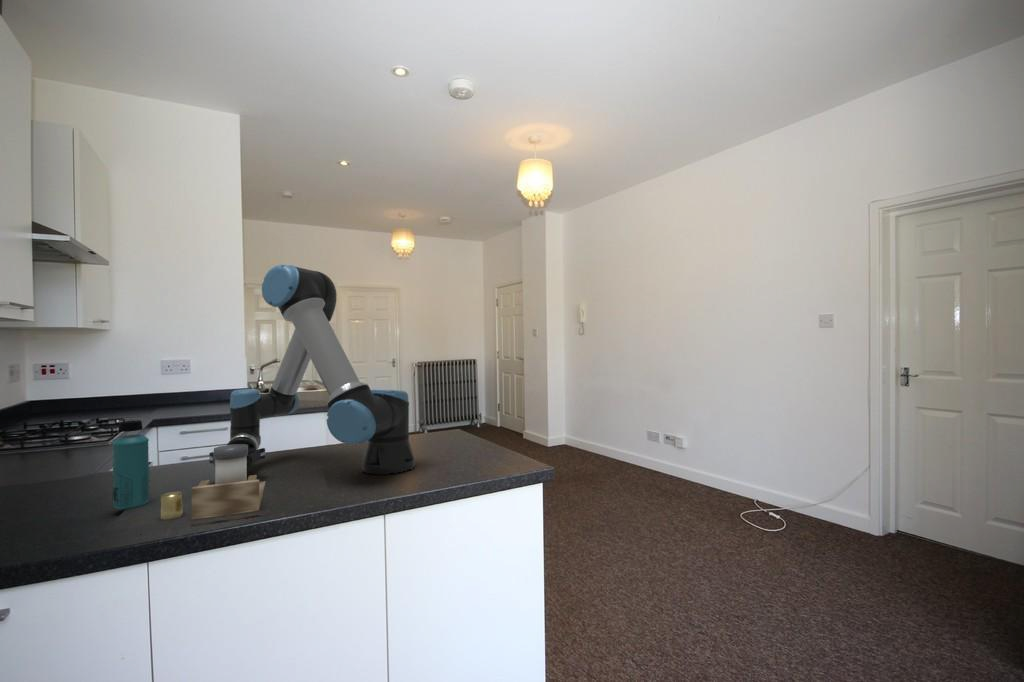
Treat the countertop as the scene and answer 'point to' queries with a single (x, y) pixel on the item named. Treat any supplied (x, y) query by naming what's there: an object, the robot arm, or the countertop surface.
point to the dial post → (171, 505)
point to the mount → (226, 499)
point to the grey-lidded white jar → (230, 463)
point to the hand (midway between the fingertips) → (229, 470)
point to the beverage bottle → (130, 467)
